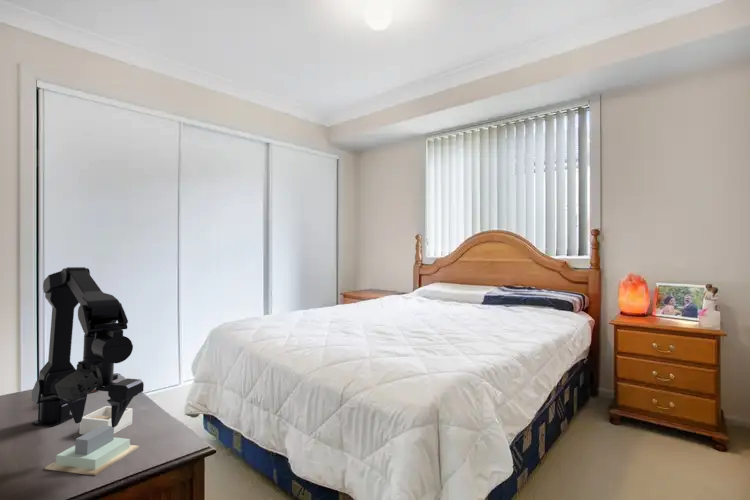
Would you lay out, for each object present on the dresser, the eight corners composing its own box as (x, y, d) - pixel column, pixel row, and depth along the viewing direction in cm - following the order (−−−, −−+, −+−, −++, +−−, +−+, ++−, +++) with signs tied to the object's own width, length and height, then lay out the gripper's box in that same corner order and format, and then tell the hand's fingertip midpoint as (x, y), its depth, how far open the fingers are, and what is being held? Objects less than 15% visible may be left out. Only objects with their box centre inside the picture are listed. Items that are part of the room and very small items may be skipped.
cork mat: (45, 469, 82) (45, 467, 82) (93, 442, 94) (93, 440, 94) (95, 475, 81) (95, 473, 81) (138, 447, 92) (138, 445, 92)
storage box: (79, 433, 98) (80, 418, 98) (105, 420, 106) (106, 406, 106) (107, 437, 97) (108, 420, 97) (132, 423, 105) (132, 408, 105)
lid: (55, 464, 83) (57, 440, 84) (94, 443, 93) (95, 421, 93) (95, 469, 82) (96, 444, 82) (129, 447, 91) (130, 425, 92)
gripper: (26, 361, 81) (23, 437, 81) (106, 367, 78) (103, 446, 78) (74, 349, 92) (72, 415, 92) (146, 354, 89) (143, 422, 89)
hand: (96, 424), depth 87 cm, fingers open, 9 cm apart
